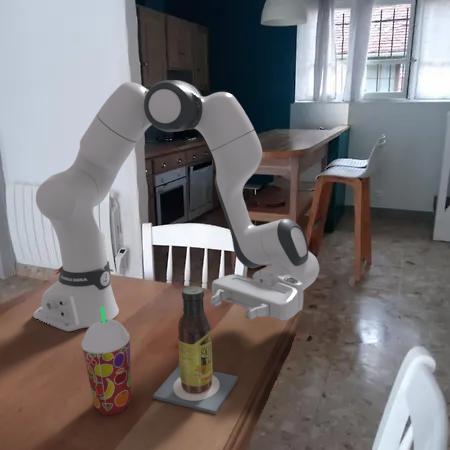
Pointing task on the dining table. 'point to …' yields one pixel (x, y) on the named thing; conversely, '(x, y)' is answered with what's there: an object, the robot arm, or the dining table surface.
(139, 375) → the dining table surface
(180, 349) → the sauce bottle
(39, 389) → the dining table surface
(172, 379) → the card
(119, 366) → the smoothie
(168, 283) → the dining table surface
